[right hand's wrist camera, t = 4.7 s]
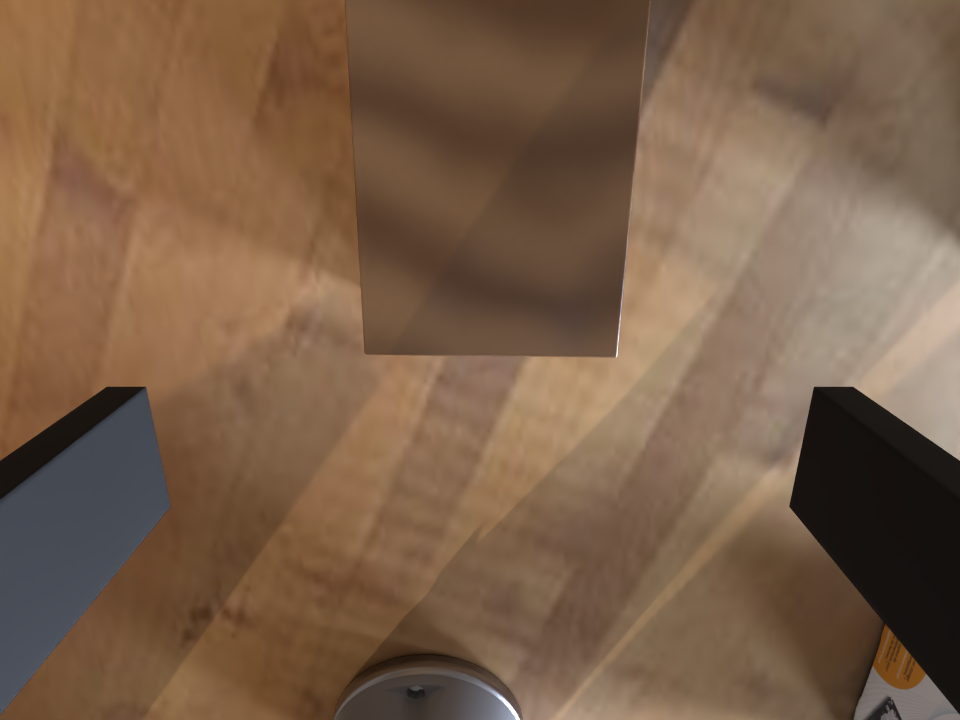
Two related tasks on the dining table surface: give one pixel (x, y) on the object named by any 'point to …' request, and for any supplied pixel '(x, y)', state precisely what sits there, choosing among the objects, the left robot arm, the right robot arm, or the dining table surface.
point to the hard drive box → (900, 688)
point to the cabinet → (494, 172)
